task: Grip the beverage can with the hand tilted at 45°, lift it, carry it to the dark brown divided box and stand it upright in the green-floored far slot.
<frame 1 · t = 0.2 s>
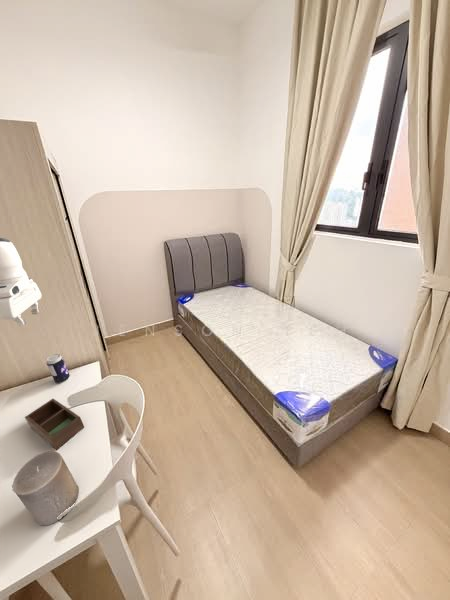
hand: (29, 319, 89), 32 cm above the table, tool pointing down, fingers open, 8 cm apart
beverage can: (63, 380, 104), on the table
dark brown divided box: (57, 427, 82), on the table
pillar candle: (58, 503, 61), on the table
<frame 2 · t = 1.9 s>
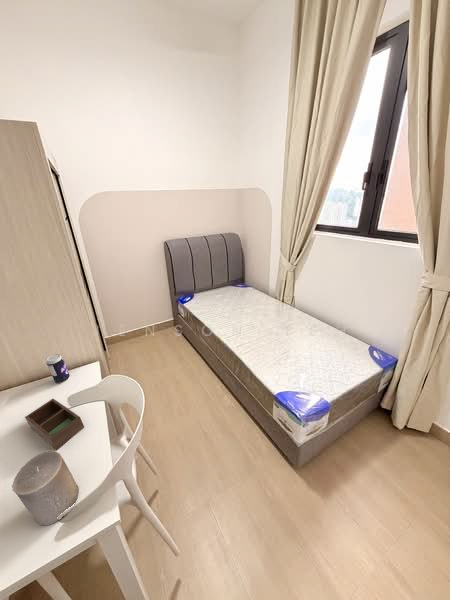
nothing on the table moved.
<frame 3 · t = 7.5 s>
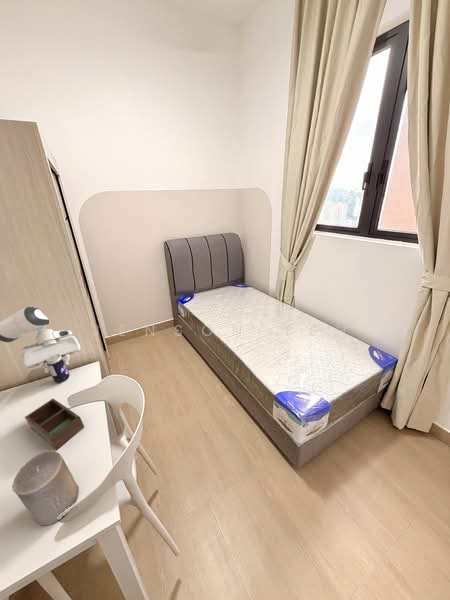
hand: (57, 368, 101), 7 cm above the table, tool tilted 45°, fingers closed on beverage can, 5 cm apart
beverage can: (63, 380, 104), on the table, touching gripper
everything else where it was.
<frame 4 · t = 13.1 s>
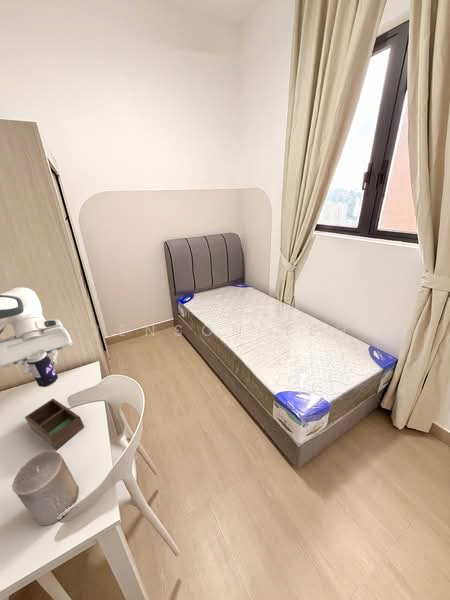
hand: (42, 368, 78), 21 cm above the table, tool tilted 45°, fingers closed on beverage can, 5 cm apart
beverage can: (49, 383, 81), point 15 cm above the table, touching gripper
everything else where it was.
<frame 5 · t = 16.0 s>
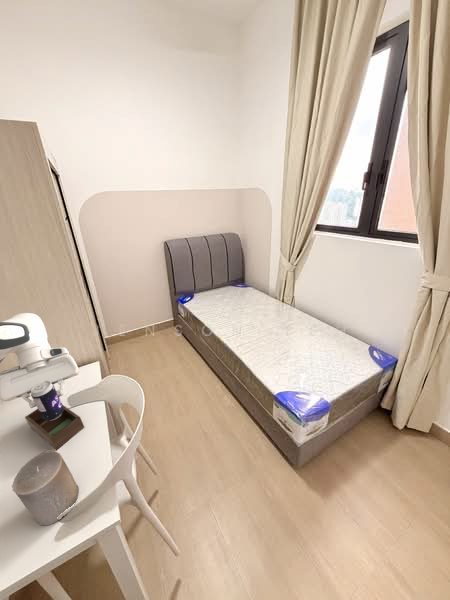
hand: (47, 401, 73), 15 cm above the table, tool tilted 45°, fingers closed on beverage can, 5 cm apart
beverage can: (55, 415, 77), point 8 cm above the table, touching gripper
everything else where it was.
when the fingers open (7 cm above the table, at t = 18.6 s): beverage can stays where it is, resting on dark brown divided box.
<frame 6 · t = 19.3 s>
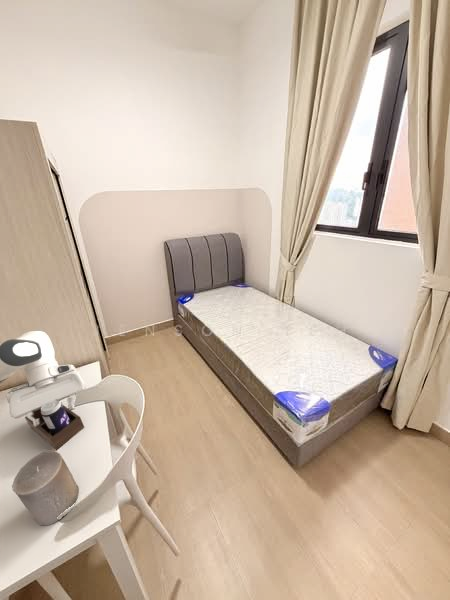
hand: (55, 417, 76), 8 cm above the table, tool tilted 45°, fingers open, 8 cm apart
beverage can: (63, 431, 80), point 1 cm above the table, touching dark brown divided box
everything else where it was.
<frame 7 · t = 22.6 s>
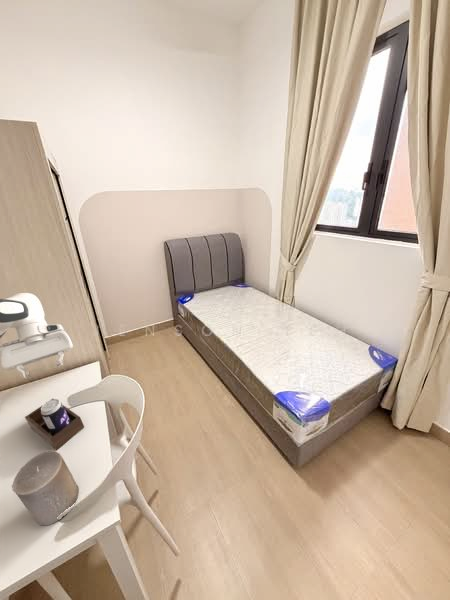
hand: (44, 371, 81), 18 cm above the table, tool tilted 45°, fingers open, 8 cm apart
nothing on the table moved.
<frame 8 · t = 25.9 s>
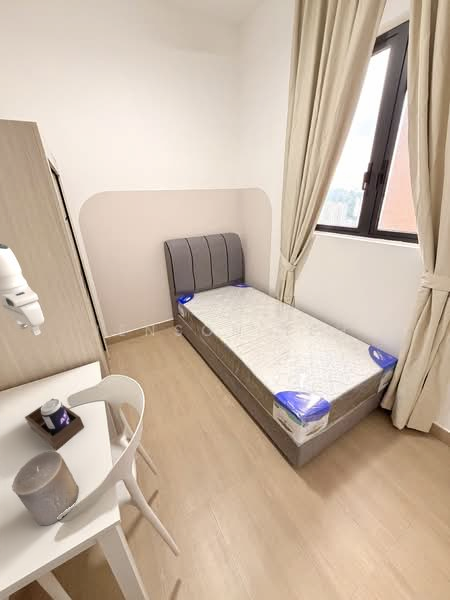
hand: (30, 331, 82), 31 cm above the table, tool pointing down, fingers open, 8 cm apart
nothing on the table moved.
at the end: beverage can 0.1 cm from the target spot in the dark brown divided box, point 0.6 cm above the dark brown divided box's base; beverage can tilted 0° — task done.
